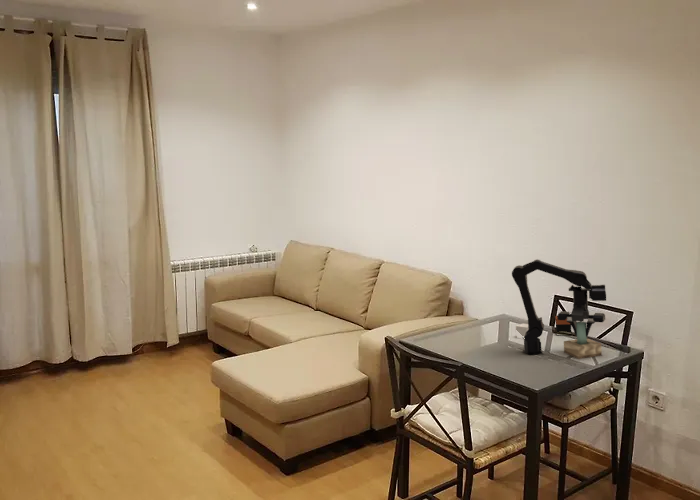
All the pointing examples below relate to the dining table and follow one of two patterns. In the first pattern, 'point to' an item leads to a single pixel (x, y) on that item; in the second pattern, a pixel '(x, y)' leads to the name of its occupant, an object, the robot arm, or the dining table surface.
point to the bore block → (582, 349)
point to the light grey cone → (522, 328)
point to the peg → (581, 333)
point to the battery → (562, 325)
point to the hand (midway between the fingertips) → (581, 336)
